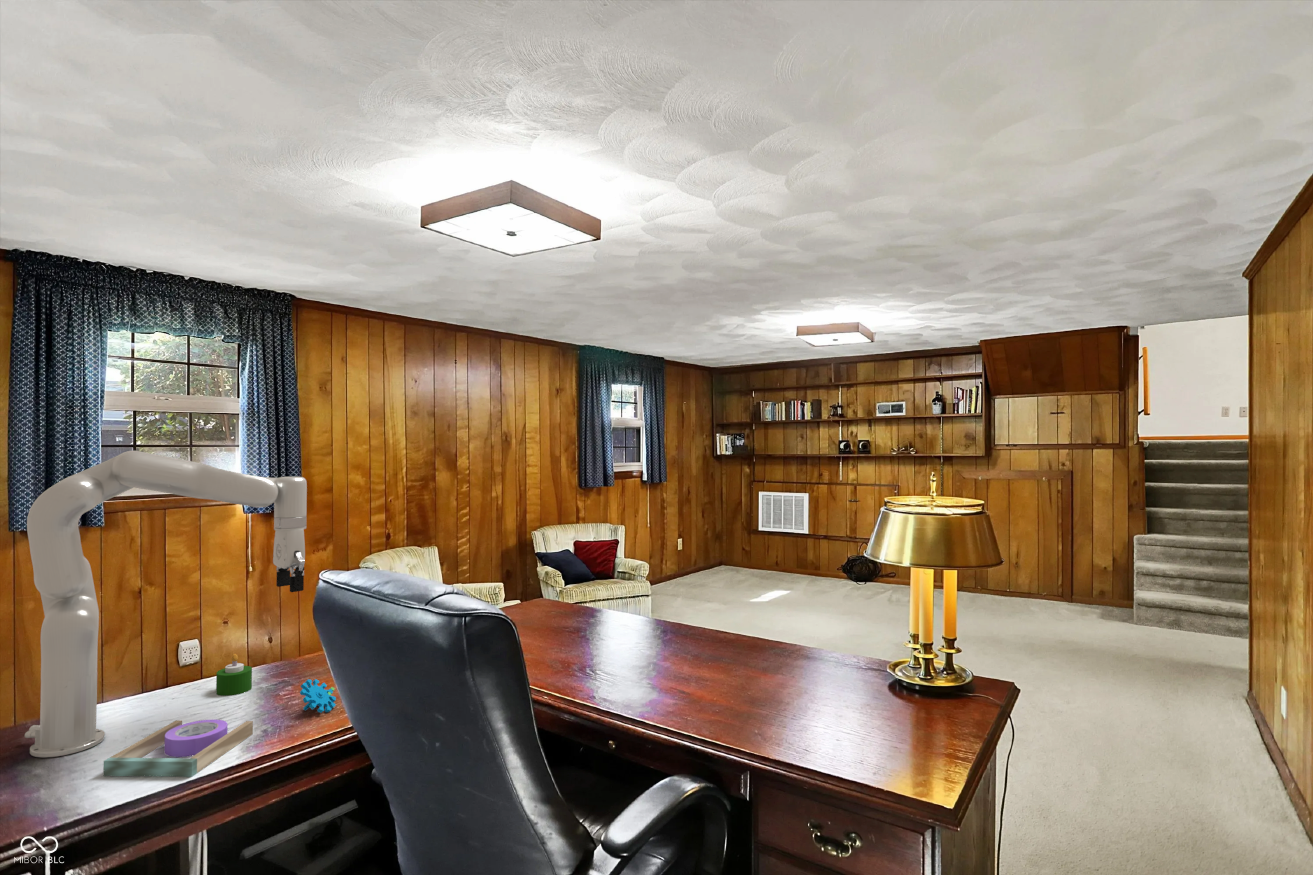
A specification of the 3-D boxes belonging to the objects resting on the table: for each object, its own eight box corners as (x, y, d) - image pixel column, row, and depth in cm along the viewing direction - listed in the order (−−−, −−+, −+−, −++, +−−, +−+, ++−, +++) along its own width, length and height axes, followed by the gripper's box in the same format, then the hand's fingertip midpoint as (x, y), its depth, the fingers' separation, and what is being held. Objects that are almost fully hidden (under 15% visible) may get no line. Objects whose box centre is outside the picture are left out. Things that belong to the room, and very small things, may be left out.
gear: (318, 713, 166) (296, 681, 169) (301, 729, 167) (279, 697, 169) (347, 703, 177) (326, 673, 180) (331, 718, 177) (310, 688, 180)
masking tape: (178, 737, 156) (179, 720, 156) (235, 733, 159) (235, 716, 159) (153, 760, 145) (154, 742, 145) (215, 755, 148) (215, 737, 148)
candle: (210, 696, 181) (211, 659, 181) (223, 686, 189) (224, 650, 189) (244, 694, 183) (245, 657, 183) (256, 684, 191) (256, 648, 191)
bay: (103, 775, 138) (103, 760, 138) (175, 733, 158) (175, 720, 158) (191, 776, 137) (192, 761, 137) (252, 733, 158) (252, 721, 158)
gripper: (263, 522, 182) (263, 585, 182) (286, 527, 170) (286, 595, 170) (293, 519, 188) (293, 581, 188) (318, 525, 176) (317, 591, 176)
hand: (289, 588), depth 179 cm, fingers open, 9 cm apart
